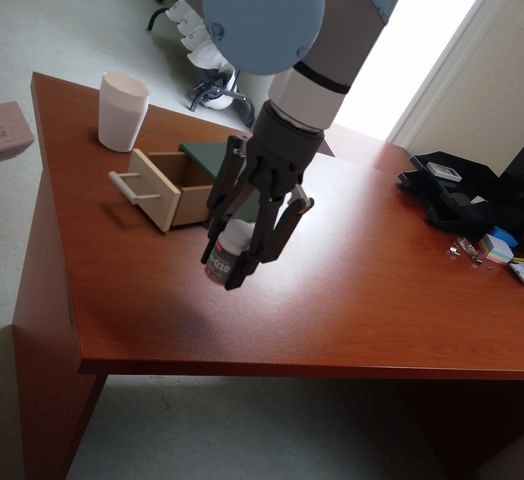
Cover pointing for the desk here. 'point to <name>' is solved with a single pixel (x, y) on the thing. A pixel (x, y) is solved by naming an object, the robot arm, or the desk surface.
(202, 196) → the drawer
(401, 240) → the desk surface
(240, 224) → the pill bottle
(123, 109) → the cup
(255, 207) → the cabinet
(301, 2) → the robot arm
